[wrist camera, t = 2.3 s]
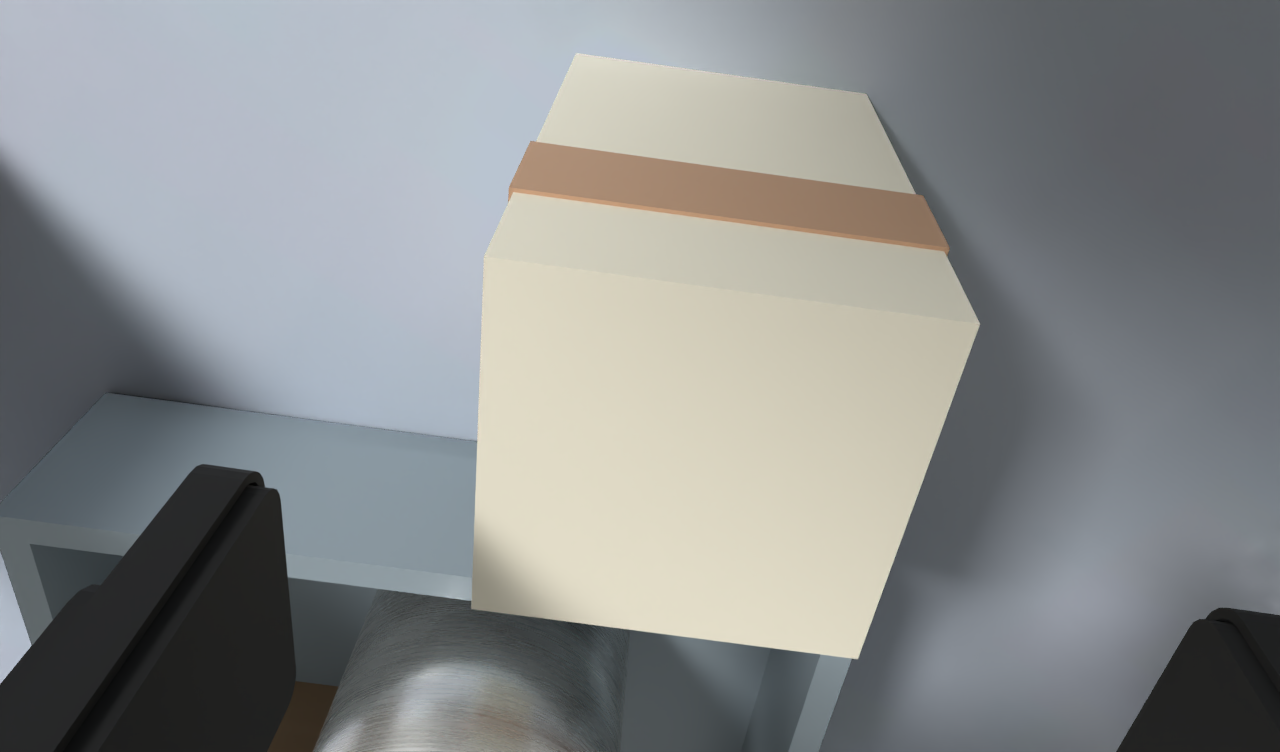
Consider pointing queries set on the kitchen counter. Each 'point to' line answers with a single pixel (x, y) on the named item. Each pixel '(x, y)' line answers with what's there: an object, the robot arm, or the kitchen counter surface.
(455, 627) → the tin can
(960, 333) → the oat carton
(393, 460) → the grey shallow tray
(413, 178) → the kitchen counter surface
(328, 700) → the walnut block
